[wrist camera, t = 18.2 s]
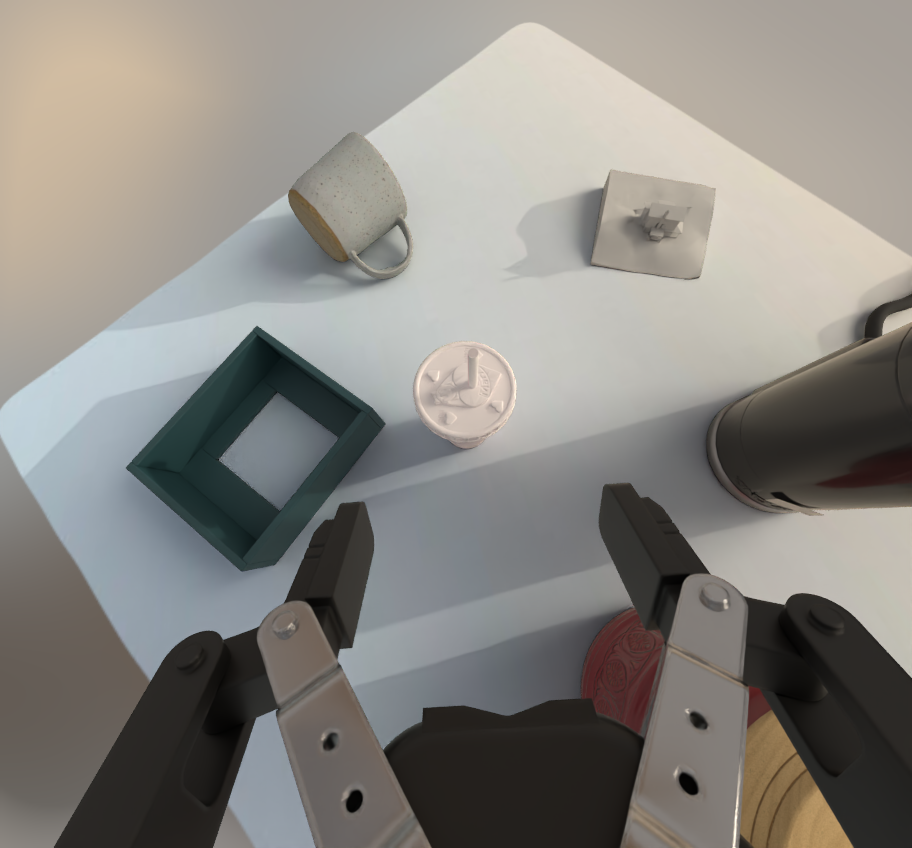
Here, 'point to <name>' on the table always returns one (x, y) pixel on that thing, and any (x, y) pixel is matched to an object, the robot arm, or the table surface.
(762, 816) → the kitchen canister
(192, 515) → the bin
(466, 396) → the smoothie
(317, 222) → the ceramic mug
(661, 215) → the miniature house
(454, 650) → the table surface
